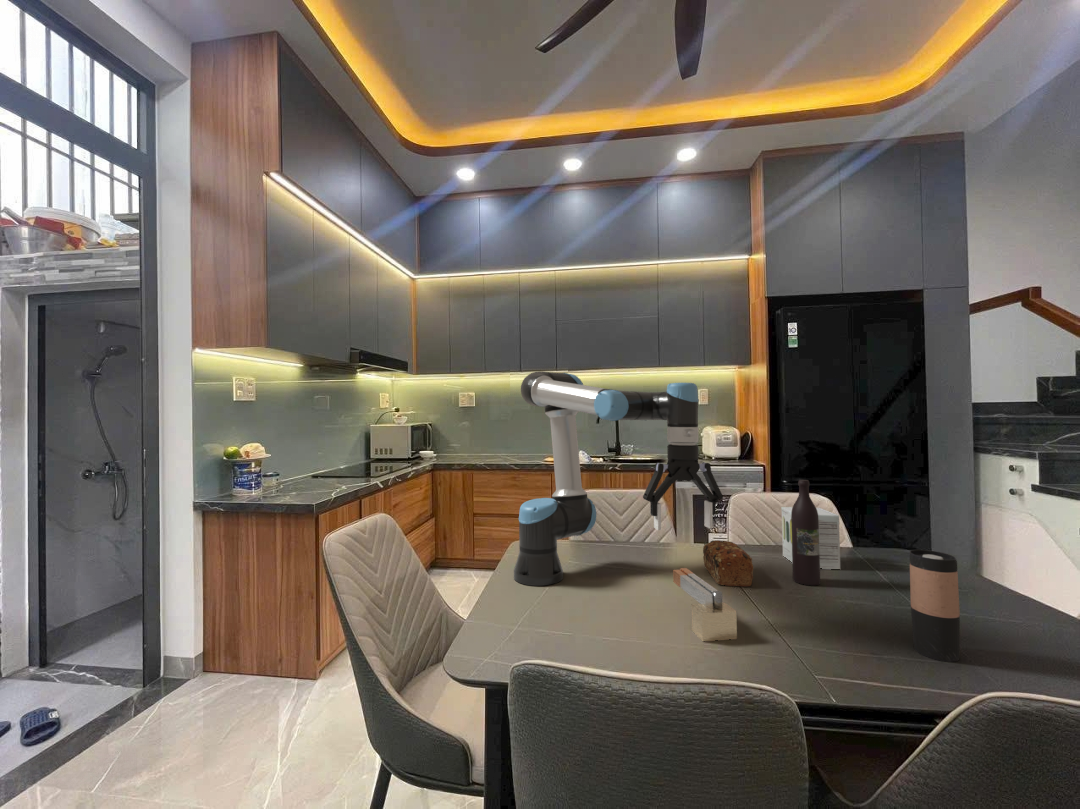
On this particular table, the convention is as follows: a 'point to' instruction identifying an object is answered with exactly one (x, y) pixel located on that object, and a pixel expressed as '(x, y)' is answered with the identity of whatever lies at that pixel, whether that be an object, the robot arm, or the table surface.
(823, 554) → the supplement box
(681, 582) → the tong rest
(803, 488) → the wine bottle
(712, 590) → the tong arm
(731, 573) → the bread
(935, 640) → the travel mug
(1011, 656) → the table surface
